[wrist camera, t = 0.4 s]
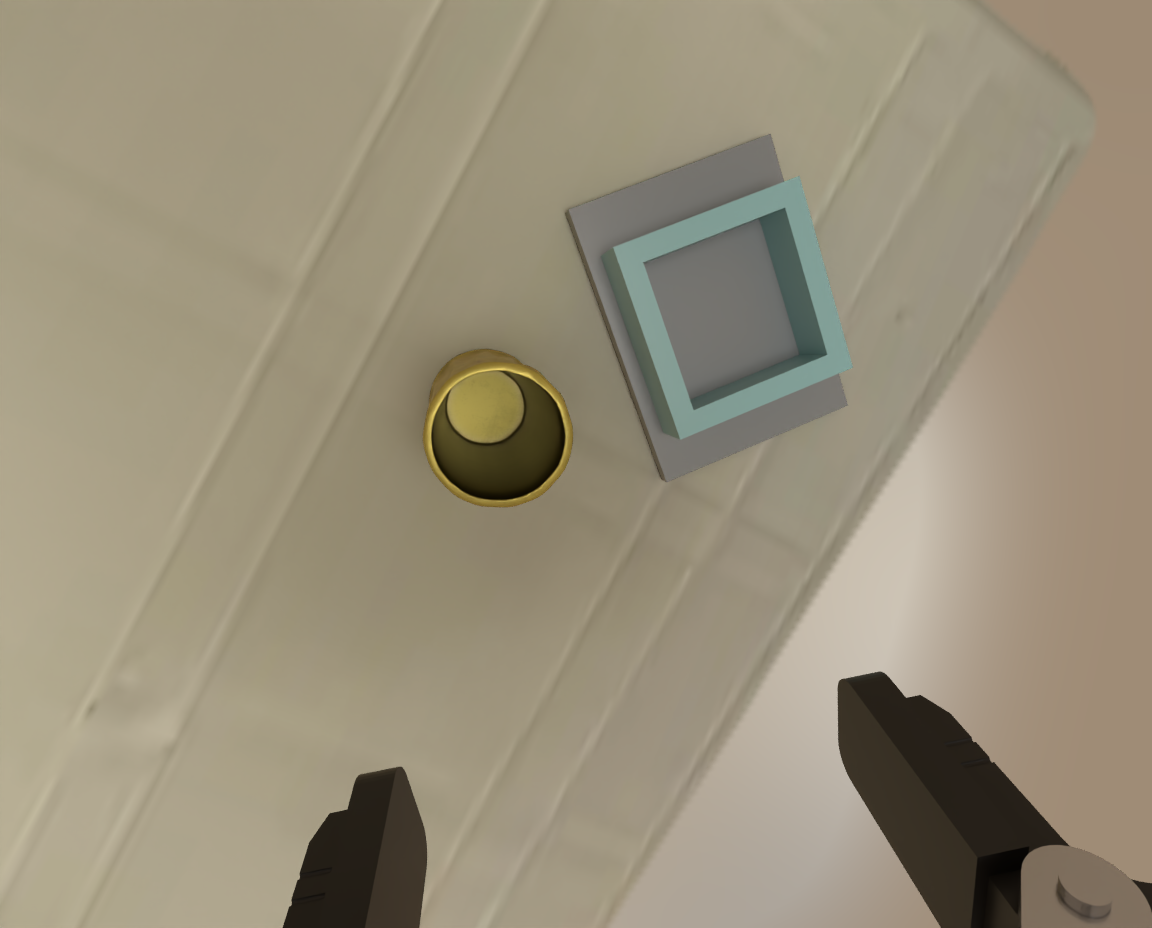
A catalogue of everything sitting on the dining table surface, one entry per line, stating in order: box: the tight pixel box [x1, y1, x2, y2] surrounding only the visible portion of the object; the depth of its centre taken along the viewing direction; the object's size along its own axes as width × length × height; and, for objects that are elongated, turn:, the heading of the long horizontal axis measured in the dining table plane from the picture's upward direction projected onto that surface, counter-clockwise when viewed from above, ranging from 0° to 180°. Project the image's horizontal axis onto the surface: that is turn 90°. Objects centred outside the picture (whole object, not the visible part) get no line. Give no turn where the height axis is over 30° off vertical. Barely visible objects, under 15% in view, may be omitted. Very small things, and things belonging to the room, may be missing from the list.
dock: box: [566, 134, 853, 482], centre depth 36 cm, size 16×12×4 cm
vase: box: [423, 349, 573, 507], centre depth 30 cm, size 6×6×14 cm
